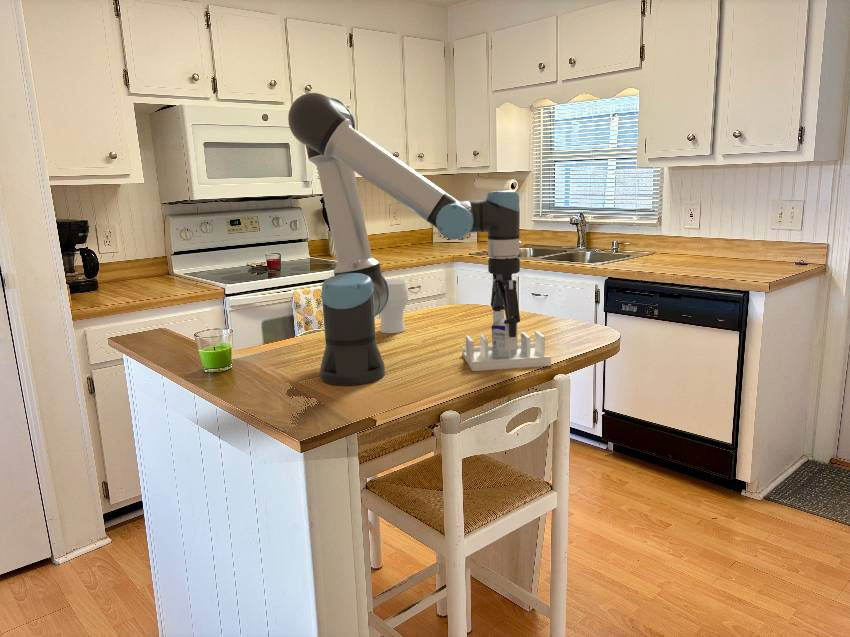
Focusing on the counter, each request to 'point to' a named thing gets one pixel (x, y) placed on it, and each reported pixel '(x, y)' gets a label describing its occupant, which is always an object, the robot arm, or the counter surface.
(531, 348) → the rack
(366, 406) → the counter surface
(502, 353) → the box
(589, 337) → the counter surface
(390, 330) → the cup
